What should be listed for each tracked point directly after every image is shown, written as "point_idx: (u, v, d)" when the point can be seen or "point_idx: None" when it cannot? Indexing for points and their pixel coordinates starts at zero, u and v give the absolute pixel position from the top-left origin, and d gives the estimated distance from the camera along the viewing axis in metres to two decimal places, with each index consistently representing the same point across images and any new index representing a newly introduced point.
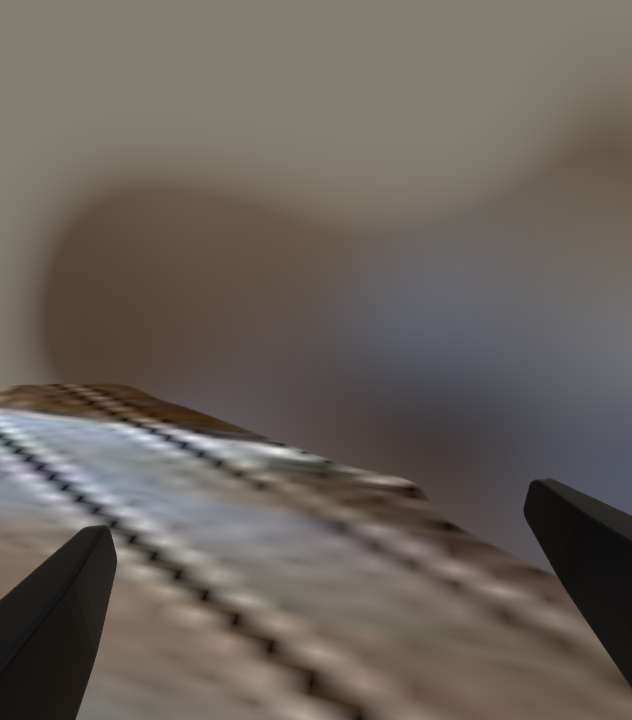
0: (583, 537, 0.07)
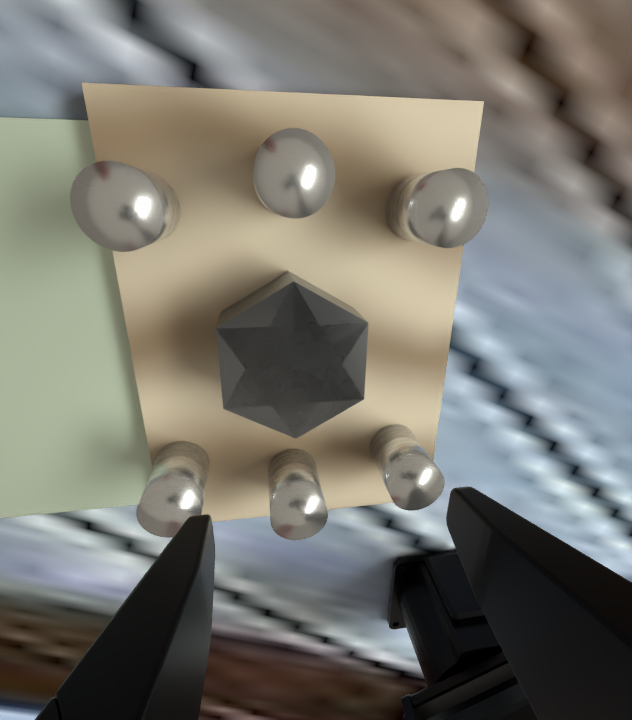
0: (490, 549, 0.07)
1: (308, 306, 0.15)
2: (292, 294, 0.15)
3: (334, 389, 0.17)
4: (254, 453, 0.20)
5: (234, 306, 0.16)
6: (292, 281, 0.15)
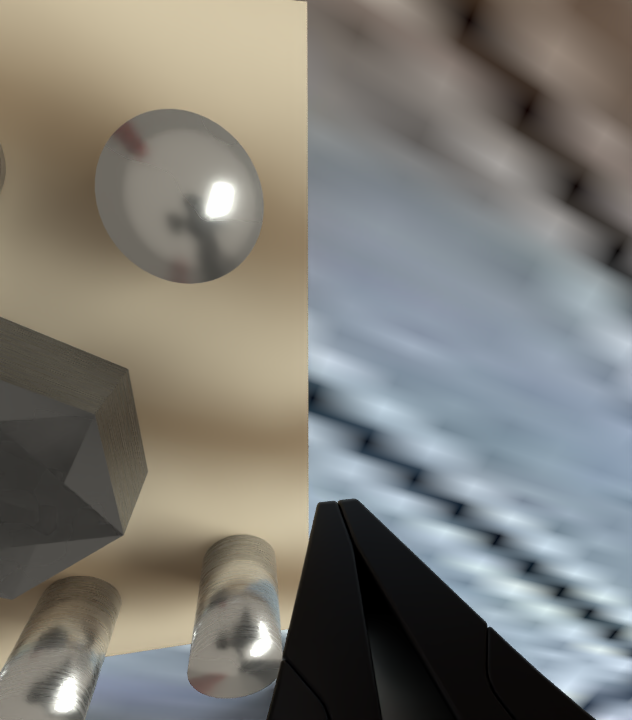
0: None
1: None
2: None
3: (60, 523, 0.09)
4: None
5: None
6: None
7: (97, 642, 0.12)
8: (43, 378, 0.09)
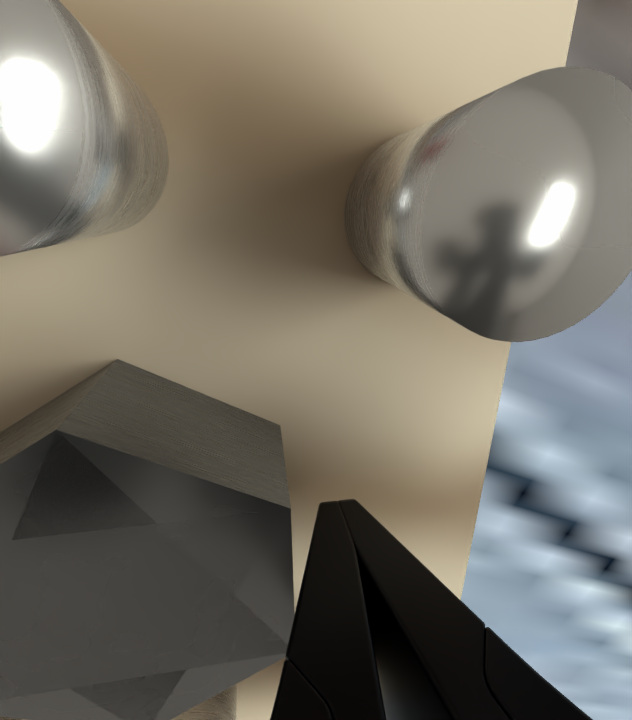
0: None
1: (116, 487, 0.05)
2: (63, 462, 0.05)
3: (221, 643, 0.07)
4: None
5: None
6: (57, 427, 0.05)
7: None
8: (215, 457, 0.06)
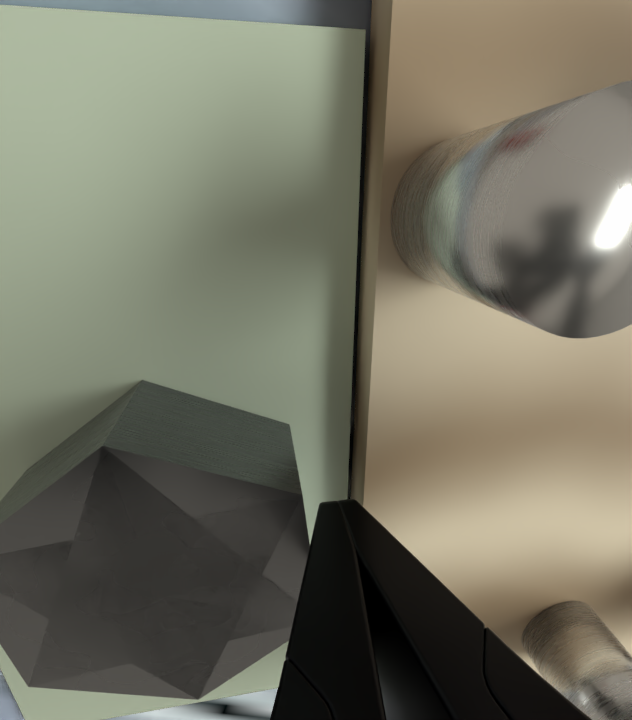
0: None
1: (154, 488, 0.07)
2: (110, 471, 0.06)
3: (255, 616, 0.08)
4: (511, 612, 0.12)
5: (35, 469, 0.08)
6: (103, 443, 0.06)
7: None
8: (234, 457, 0.07)
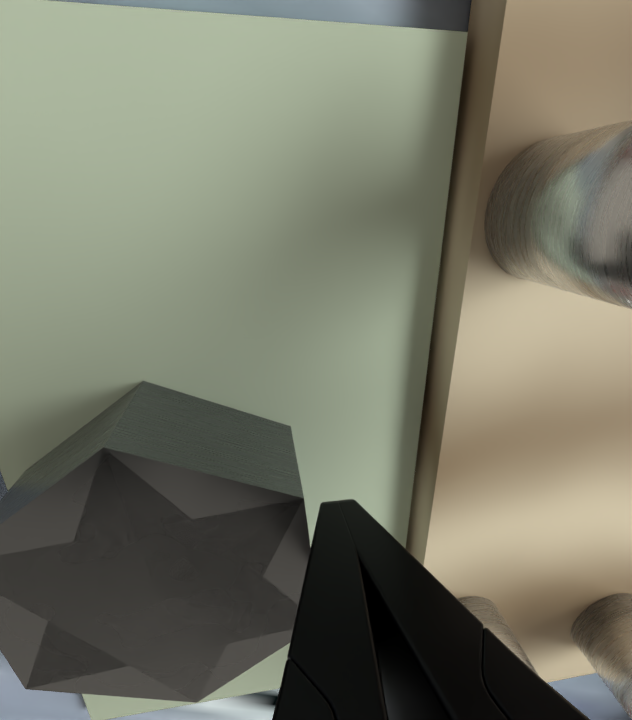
0: None
1: (155, 491, 0.07)
2: (110, 473, 0.06)
3: (255, 619, 0.08)
4: (564, 604, 0.13)
5: (35, 469, 0.08)
6: (104, 445, 0.06)
7: None
8: (235, 459, 0.07)
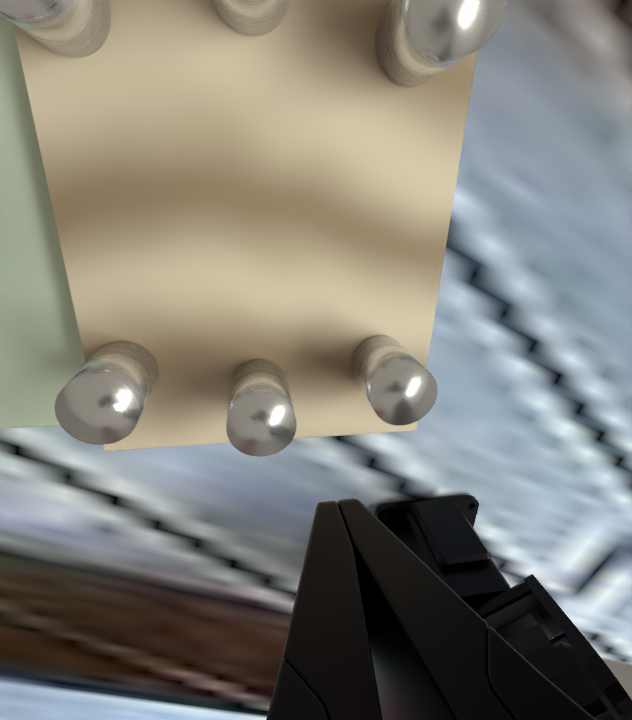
0: None
1: None
2: None
3: None
4: (213, 362, 0.17)
5: None
6: None
7: (289, 393, 0.16)
8: None
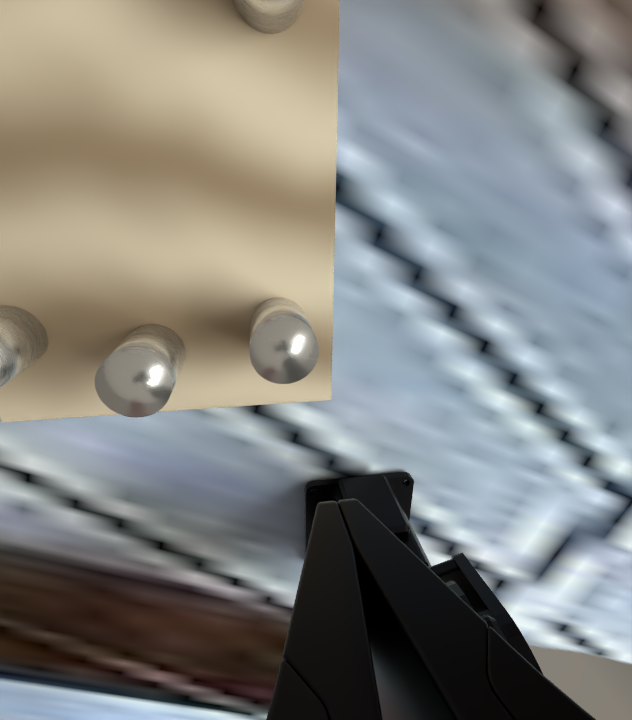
0: None
1: None
2: None
3: None
4: (104, 327, 0.17)
5: None
6: None
7: (175, 355, 0.16)
8: None
